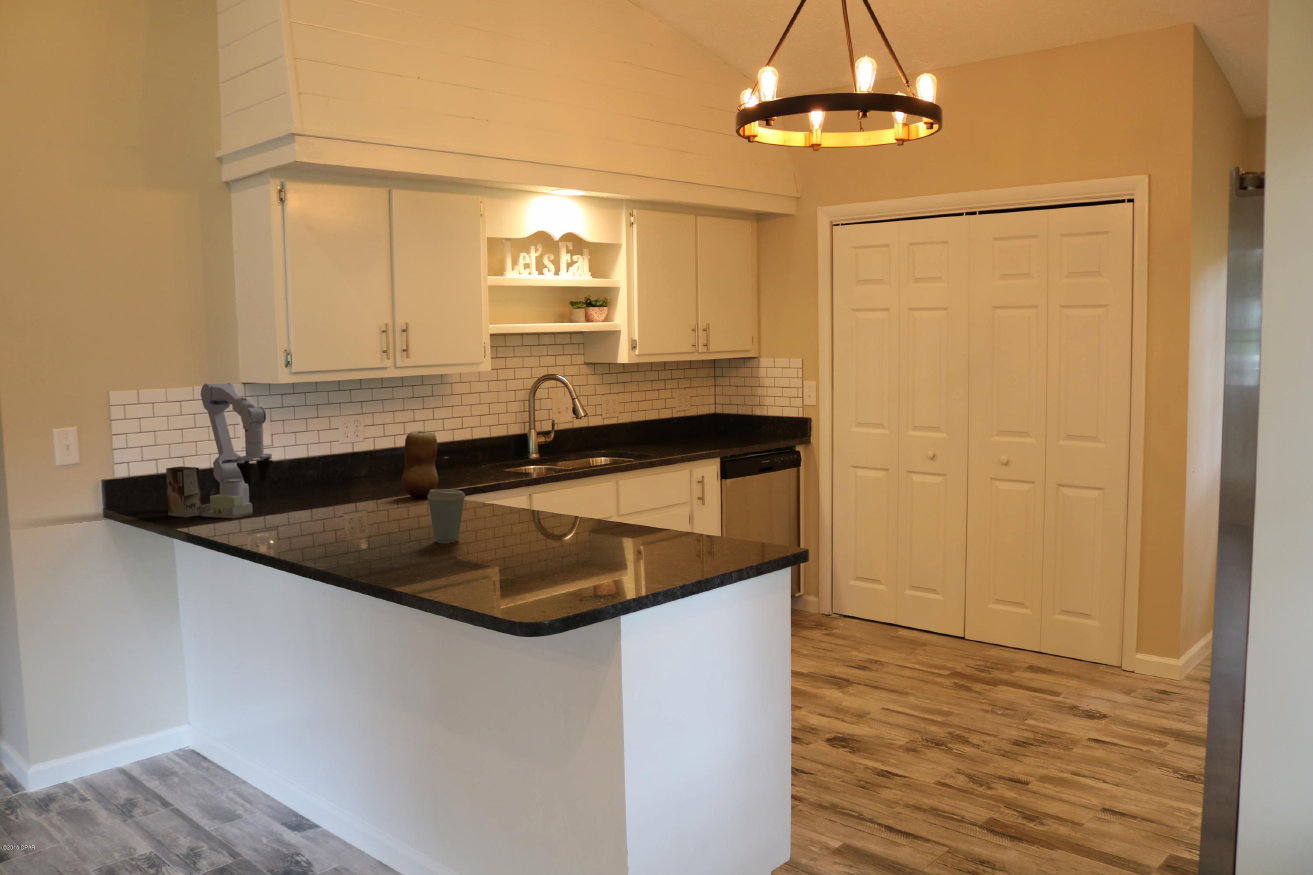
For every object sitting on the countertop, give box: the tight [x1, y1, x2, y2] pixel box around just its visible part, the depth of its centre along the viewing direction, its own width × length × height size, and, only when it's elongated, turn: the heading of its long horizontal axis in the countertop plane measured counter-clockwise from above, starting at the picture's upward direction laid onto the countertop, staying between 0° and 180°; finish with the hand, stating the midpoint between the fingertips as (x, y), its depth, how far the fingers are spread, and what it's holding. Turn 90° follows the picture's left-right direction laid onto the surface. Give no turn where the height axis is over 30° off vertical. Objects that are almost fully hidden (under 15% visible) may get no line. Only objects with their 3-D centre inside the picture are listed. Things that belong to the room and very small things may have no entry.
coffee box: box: [165, 466, 202, 518], centre depth 335 cm, size 9×6×16 cm
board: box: [209, 494, 243, 510], centre depth 336 cm, size 10×4×4 cm, turn 71°
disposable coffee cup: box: [427, 489, 466, 544], centre depth 287 cm, size 11×11×15 cm
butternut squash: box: [400, 430, 439, 499], centre depth 377 cm, size 14×13×25 cm
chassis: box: [198, 503, 253, 519], centre depth 336 cm, size 14×9×4 cm, turn 71°
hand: (255, 482), depth 345 cm, fingers open, 7 cm apart
